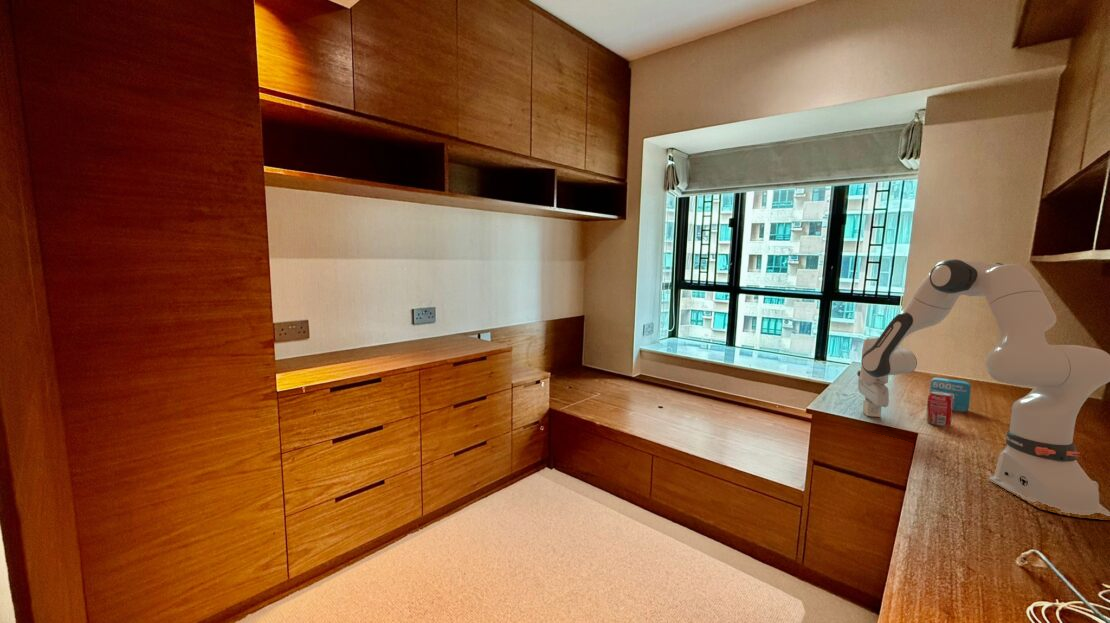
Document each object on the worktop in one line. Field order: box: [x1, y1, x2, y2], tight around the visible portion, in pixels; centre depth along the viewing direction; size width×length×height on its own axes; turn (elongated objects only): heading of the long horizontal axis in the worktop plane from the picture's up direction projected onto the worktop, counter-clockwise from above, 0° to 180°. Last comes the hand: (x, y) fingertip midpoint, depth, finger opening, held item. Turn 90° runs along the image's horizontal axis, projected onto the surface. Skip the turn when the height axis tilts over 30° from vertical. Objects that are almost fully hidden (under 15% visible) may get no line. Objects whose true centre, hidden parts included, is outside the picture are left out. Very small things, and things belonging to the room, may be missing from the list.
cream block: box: [862, 399, 882, 418], centre depth 169 cm, size 5×5×5 cm
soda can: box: [925, 391, 953, 427], centre depth 159 cm, size 7×7×12 cm
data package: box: [929, 377, 972, 413], centre depth 175 cm, size 12×4×12 cm, turn 43°
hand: (871, 410), depth 169 cm, fingers closed on cream block, 5 cm apart
